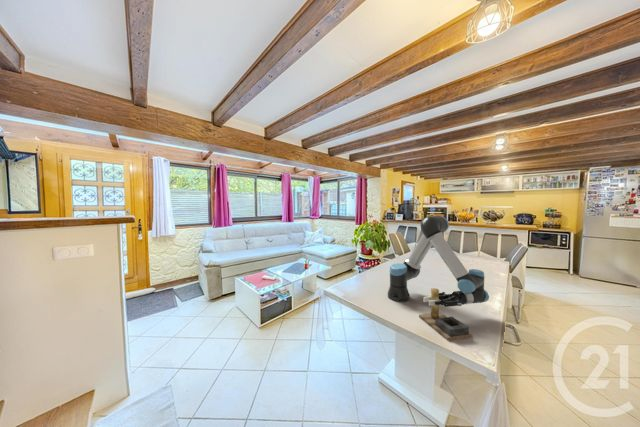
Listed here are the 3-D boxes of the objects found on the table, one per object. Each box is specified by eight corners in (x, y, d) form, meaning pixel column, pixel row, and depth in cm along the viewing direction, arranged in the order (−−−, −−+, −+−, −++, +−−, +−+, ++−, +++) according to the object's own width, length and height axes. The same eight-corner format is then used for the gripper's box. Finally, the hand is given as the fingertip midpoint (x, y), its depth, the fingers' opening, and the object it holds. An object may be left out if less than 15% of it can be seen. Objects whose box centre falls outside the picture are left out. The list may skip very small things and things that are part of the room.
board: (419, 317, 124) (419, 309, 124) (440, 314, 126) (440, 306, 126) (447, 340, 102) (447, 330, 102) (472, 337, 105) (472, 327, 105)
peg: (429, 315, 122) (429, 288, 122) (435, 314, 123) (435, 287, 122) (434, 318, 118) (434, 291, 118) (440, 318, 119) (440, 290, 118)
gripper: (474, 310, 115) (437, 315, 111) (450, 297, 132) (417, 301, 128) (475, 297, 115) (437, 301, 111) (450, 285, 132) (417, 289, 128)
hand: (426, 301), depth 119 cm, fingers closed on peg, 4 cm apart
